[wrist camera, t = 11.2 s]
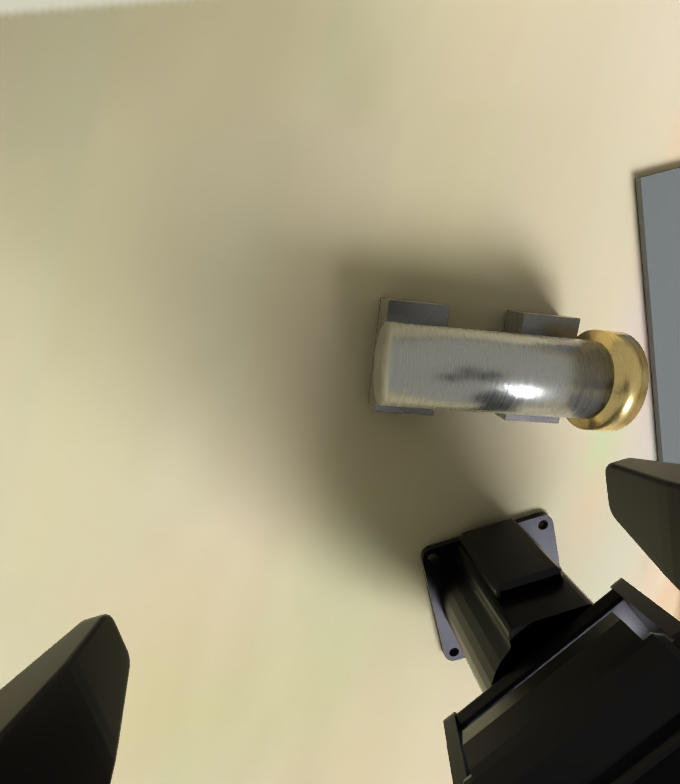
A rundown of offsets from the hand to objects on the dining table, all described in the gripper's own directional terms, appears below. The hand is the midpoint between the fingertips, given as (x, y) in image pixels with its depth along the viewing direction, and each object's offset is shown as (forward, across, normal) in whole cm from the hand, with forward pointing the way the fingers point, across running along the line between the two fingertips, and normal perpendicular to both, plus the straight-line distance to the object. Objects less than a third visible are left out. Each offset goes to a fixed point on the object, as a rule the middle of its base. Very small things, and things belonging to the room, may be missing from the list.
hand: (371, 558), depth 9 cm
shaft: (+12, -7, 0) cm, 14 cm away
